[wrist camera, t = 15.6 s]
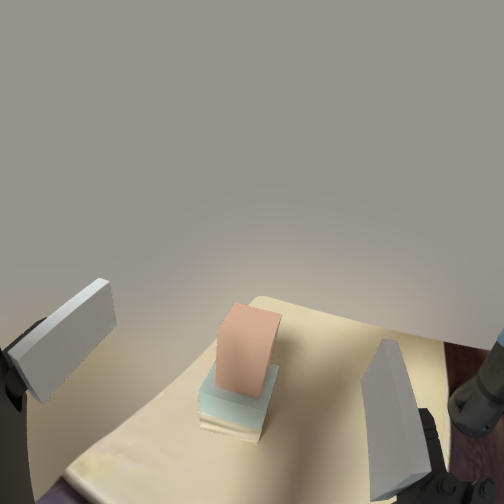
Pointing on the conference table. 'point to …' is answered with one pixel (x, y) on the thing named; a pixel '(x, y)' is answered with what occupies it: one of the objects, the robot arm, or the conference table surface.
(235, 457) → the conference table surface
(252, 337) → the tall block
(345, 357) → the conference table surface
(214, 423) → the tower base block
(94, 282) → the robot arm
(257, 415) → the tower upper block
